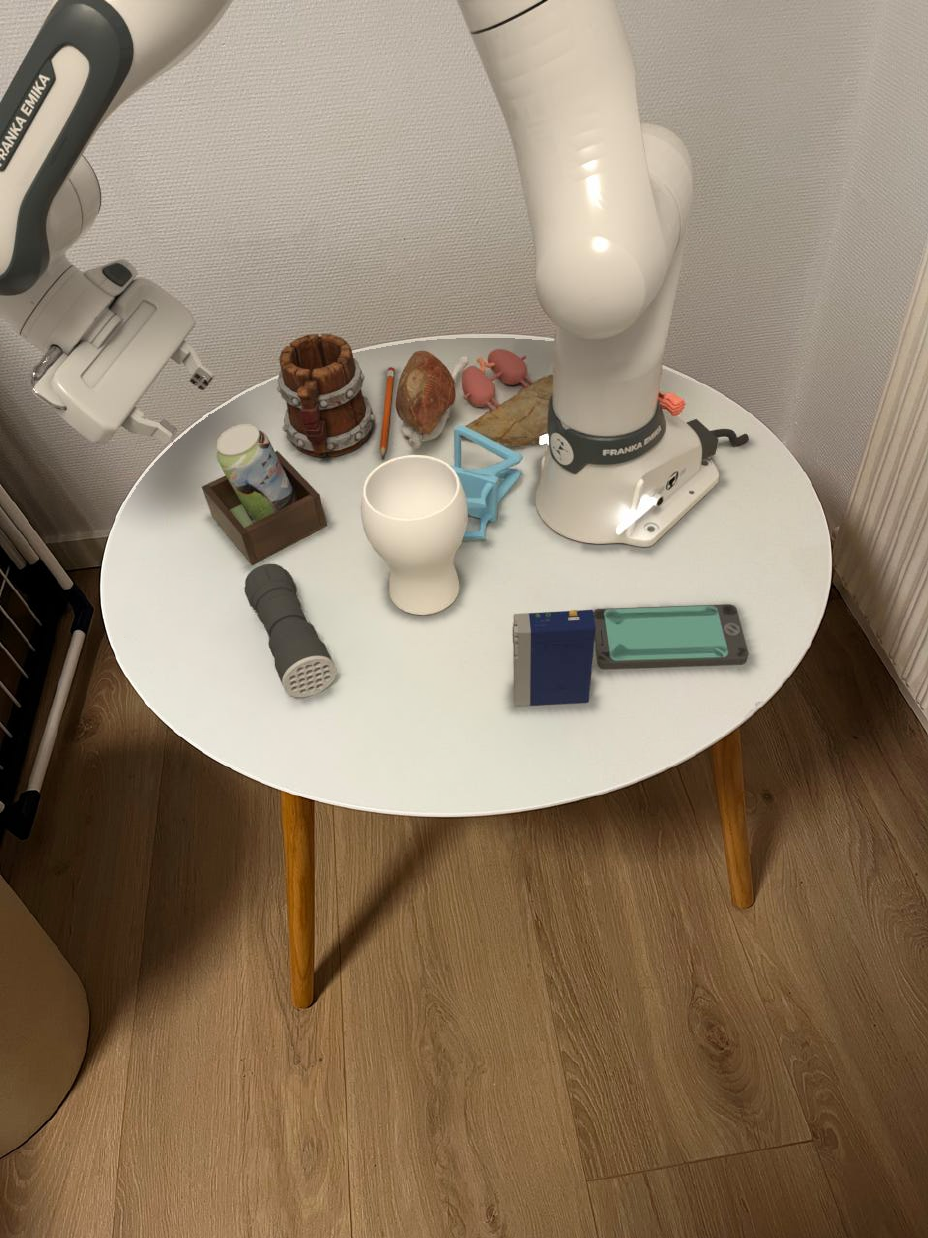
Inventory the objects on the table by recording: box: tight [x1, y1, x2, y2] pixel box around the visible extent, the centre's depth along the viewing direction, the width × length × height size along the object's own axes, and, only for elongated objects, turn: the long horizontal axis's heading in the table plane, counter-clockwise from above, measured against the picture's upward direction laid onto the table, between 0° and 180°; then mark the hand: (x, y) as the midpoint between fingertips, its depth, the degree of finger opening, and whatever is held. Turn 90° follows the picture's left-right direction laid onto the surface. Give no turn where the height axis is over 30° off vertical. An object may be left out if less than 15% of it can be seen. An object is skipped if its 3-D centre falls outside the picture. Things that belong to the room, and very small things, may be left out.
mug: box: [276, 333, 376, 458], centre depth 112 cm, size 12×14×15 cm
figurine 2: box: [460, 348, 534, 411], centre depth 120 cm, size 12×3×7 cm
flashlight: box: [244, 563, 337, 698], centre depth 94 cm, size 15×5×5 cm, turn 25°
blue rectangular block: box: [511, 609, 596, 708], centre depth 85 cm, size 7×2×12 cm, turn 92°
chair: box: [448, 424, 524, 542], centre depth 104 cm, size 8×8×12 cm
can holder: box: [201, 450, 328, 566], centre depth 106 cm, size 10×10×5 cm
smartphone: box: [593, 603, 750, 670], centre depth 93 cm, size 7×1×15 cm
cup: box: [360, 454, 469, 616], centre depth 93 cm, size 11×11×15 cm
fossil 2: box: [395, 349, 457, 435], centre depth 112 cm, size 13×8×10 cm
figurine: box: [401, 356, 470, 450], centre depth 117 cm, size 7×4×18 cm
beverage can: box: [215, 423, 298, 523], centre depth 103 cm, size 6×7×12 cm
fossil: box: [461, 374, 553, 447], centre depth 116 cm, size 21×13×2 cm, turn 135°
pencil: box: [379, 366, 395, 460], centre depth 119 cm, size 1×19×1 cm
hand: (191, 409), depth 96 cm, fingers open, 8 cm apart
